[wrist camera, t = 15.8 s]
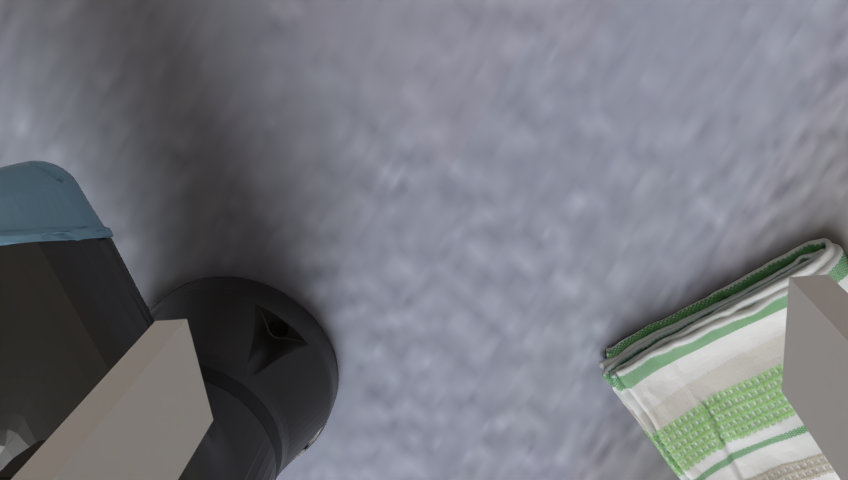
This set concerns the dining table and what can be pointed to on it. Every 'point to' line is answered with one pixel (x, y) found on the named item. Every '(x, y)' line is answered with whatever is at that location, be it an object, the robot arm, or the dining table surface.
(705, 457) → the dish towel
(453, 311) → the dining table surface
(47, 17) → the dining table surface
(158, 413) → the robot arm
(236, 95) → the dining table surface
